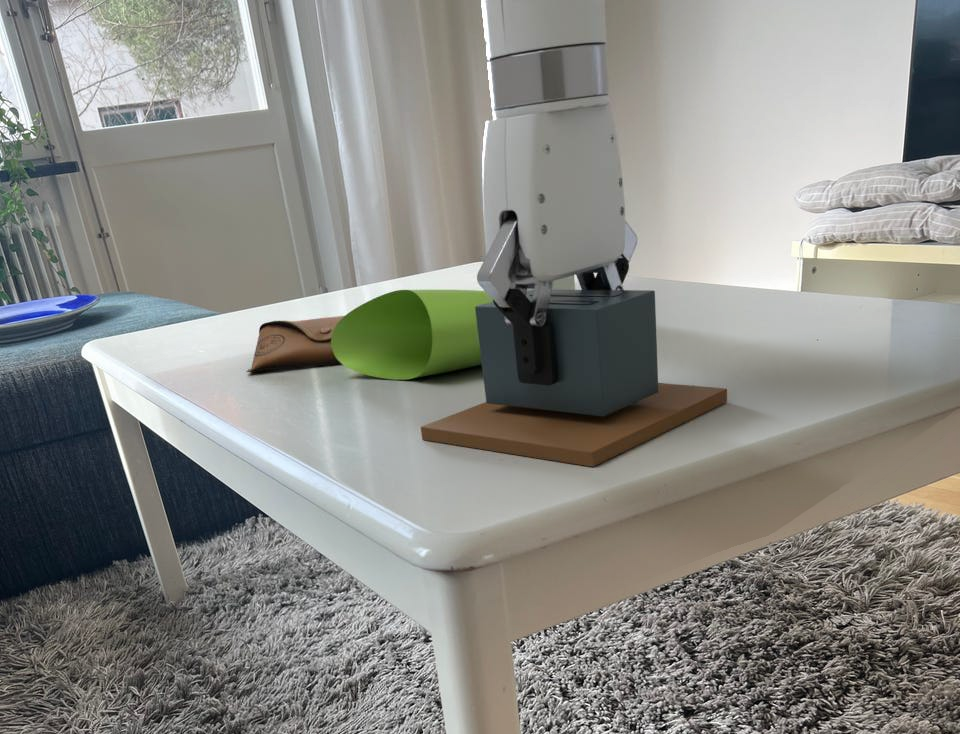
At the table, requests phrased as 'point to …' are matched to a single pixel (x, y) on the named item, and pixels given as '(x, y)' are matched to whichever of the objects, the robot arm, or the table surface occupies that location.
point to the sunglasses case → (295, 344)
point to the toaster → (578, 353)
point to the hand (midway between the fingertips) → (570, 368)
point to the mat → (574, 426)
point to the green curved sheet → (411, 334)
